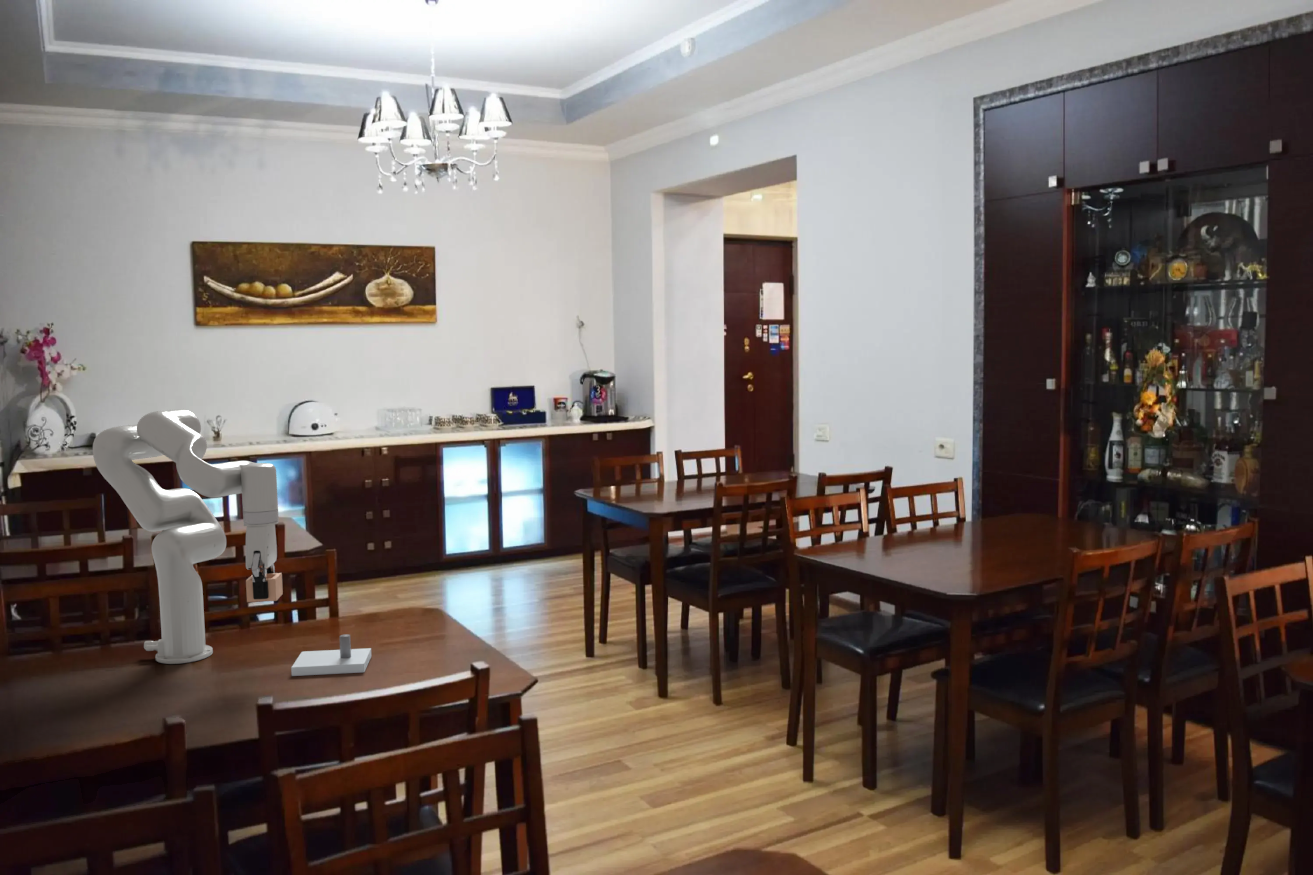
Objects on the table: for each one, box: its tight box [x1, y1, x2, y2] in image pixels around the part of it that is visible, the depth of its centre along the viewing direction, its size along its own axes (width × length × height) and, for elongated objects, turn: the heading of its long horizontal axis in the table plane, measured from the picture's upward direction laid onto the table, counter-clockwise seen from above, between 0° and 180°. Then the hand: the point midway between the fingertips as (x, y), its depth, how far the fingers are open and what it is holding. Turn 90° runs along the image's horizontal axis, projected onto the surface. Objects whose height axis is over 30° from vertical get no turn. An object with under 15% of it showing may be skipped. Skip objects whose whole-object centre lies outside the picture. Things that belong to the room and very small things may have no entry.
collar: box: [245, 572, 284, 603], centre depth 238 cm, size 6×6×5 cm
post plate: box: [290, 633, 372, 677], centre depth 241 cm, size 16×12×7 cm
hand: (264, 594), depth 238 cm, fingers closed on collar, 6 cm apart
